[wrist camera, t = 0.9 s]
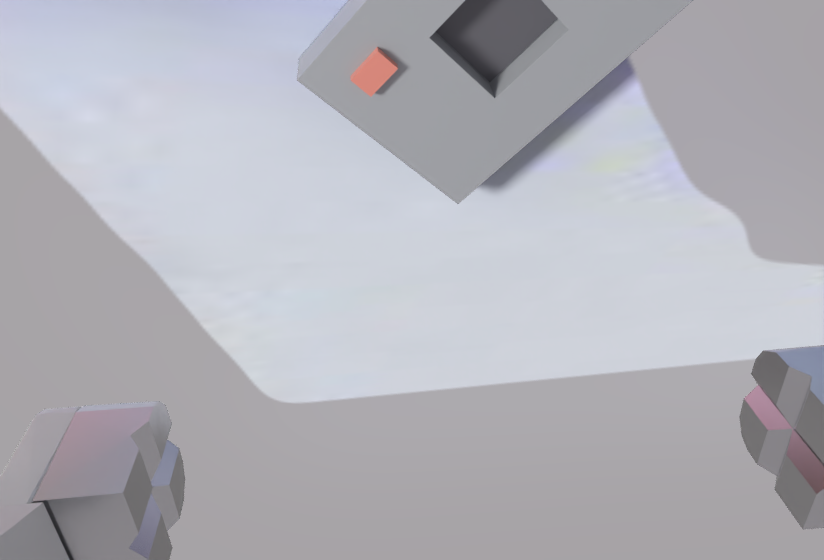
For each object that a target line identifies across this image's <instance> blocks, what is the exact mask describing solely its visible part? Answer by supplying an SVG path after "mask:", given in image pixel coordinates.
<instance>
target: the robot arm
mask: <svg viewBox="0 0 824 560" xmlns="http://www.w3.org/2000/svg"><path fill="white" fill-rule="evenodd" d="M751 374H752V376H753V377H754V379H755V381H756V382H757V384H758V386H757V387H756V388H755V389H753V390H752V392H750V393H749V394H748V395H747V396H746V397H745V398H744V401H743V405H742V409H741V414H740V424H741V433H742V437H743V440H744V442H745V445H746V447H747V450H748V451H749V453H750V454H751V456H752V457H753V459H754V460H755V462H756V463H757V464H758V465H759V466H761V467H763V468H765V469H766V470H768V471H770V472H771V473H773V474H775V475H776V476H777V478H776V484H775V491H776V492H777V493H778V495H779V496H780V498H781V499H782V500H783V502H784V503H785V505H786V506H787V508H788V509H789V510H790V512H791V513H792V515H793V516H794V517H795V519H796V520H797V522H798V523H799V525H800V526H801V527H802V529H814V528H824V345H820V346H809V347H798V348H787V349H776V350H765V351H762V353H761V354H760V355H759V356H758V357H757V358H756V360H755V363H754V366H753V369H752V373H751ZM171 425H172V422H171V419H170V416H169V413H168V410H167V407H166V405H165V404H163V403H162V402H160V401H154V402H137V403H122V404H121V403H120V404H104V405H88V406H83V407H67V408H51V409H44V410H42V411H41V412H39V413H38V414H36V415H35V416H34V418H33V419H32V421H31V423H30V425H29V427H28V428H27V430H26V432H25V434H24V435H23V437H22V439H21V440H20V442H19V444H18V446H17V448H16V449H15V451H14V453H13V455H12V457H11V458H10V460H9V462H8V463H7V465H6V467H5V469H4V471H3V472H2V474H1V476H0V560H169V559H170V555H171V551H172V545H171V542H170V539H169V536H168V532H167V531H168V530H169V528H170V527H172V526H173V524H175V523H176V522H177V521H178V520H179V519H180V515H181V510H182V506H183V501H184V486H185V475H184V466H183V460H182V457H181V453H180V450H179V448H178V447H176V446H175V445H174V444H173V443H171V442H170V441H169V440H167V439H168V435H169V432H170V429H171Z"/></svg>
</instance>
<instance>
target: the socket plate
mask: <svg viewBox="0 0 824 560" xmlns="http://www.w3.org/2000/svg"><path fill="white" fill-rule="evenodd" d="M692 1H693V0H349V1H348V2H347V3H346V4H345V5H344V6H343V8H342V9H341V10H340V11H339V12H338V13H337V15H336V16H335V17H334V18H333V19H332V20H331V22H330V23H329V24H328V25H327V26H326V27H325V29H324V30H323V31H322V32H321V33H320V34H319V36H318V37H317V38H316V39H315V40H314V41H313V43H312V44H311V45H310V46H309V47H308V48H307V50H306V51H305V52H304V53H303V54H302V55H301V57H300V58H299V62H298V74H297V81H299V82H300V83H301V84H302V85H304V86H305V87H306V88H308V89H309V90H310V91H312V92H313V93H314V94H315V95H317V96H318V97H319V98H321V99H322V100H323V101H325V102H326V103H327V104H328V105H330V106H331V107H332V108H334V109H335V110H336V111H338V112H339V113H340V114H341V115H343V116H344V117H345V118H347V119H348V120H349V121H351V122H352V123H353V124H354V125H356V126H357V127H358V128H360V129H361V130H362V131H364V132H365V133H366V134H367V135H369V136H370V137H371V138H373V139H374V140H375V141H377V142H378V143H379V144H380V145H382V146H383V147H384V148H386V149H387V150H388V151H390V152H391V153H392V154H393V155H395V156H396V157H397V158H399V159H400V160H401V161H403V162H404V163H405V164H406V165H408V166H409V167H410V168H412V169H413V170H414V171H416V172H417V173H418V174H419V175H421V176H422V177H423V178H425V179H426V180H427V181H429V182H430V183H431V184H432V185H434V186H435V187H436V188H438V189H439V190H440V191H442V192H443V193H444V194H445V195H447V196H448V197H449V198H451V199H452V200H453V201H455V202H456V203H457V204H459V203H460V202H461V201H462V200H463V199H465V198H466V197H467V196H468V195H469V194H470V193H472V192H473V191H474V190H475V189H476V188H477V187H478V186H480V185H481V184H482V183H483V182H484V181H485V180H487V179H488V178H489V177H490V176H491V175H492V174H493V173H495V172H496V171H497V170H498V169H499V168H500V167H501V166H503V165H504V164H505V163H506V162H507V161H508V160H510V159H511V158H512V157H513V156H514V155H515V154H516V153H518V152H519V151H520V150H521V149H522V148H523V147H525V146H526V145H527V144H528V143H529V142H530V141H531V140H533V139H534V138H535V137H536V136H537V135H538V134H540V133H541V132H542V131H543V130H544V129H545V128H546V127H548V126H549V125H550V124H551V123H552V122H553V121H555V120H556V119H557V118H558V117H559V116H560V115H561V114H563V113H564V112H565V111H566V110H567V109H568V108H570V107H571V106H572V105H573V104H574V103H575V102H576V101H578V100H579V99H580V98H581V97H582V96H583V95H584V94H586V93H587V92H588V91H589V90H590V89H591V88H593V87H594V86H595V85H596V84H597V83H598V82H599V81H601V80H602V79H603V78H604V77H605V76H606V75H608V74H609V73H610V72H611V71H612V70H613V69H614V68H616V67H617V66H618V65H619V64H620V63H621V62H623V61H624V60H625V59H626V58H627V57H628V56H629V55H631V54H632V53H633V52H634V51H635V50H636V49H638V48H639V47H640V46H641V45H642V44H643V43H644V42H646V41H647V40H648V39H649V38H650V37H651V36H652V35H654V34H655V33H656V32H657V31H658V30H659V29H661V28H662V27H663V26H664V25H665V24H666V23H667V22H669V21H670V20H671V19H672V18H673V17H674V16H675V15H677V14H678V13H679V12H680V11H681V10H682V9H684V7H686V6H687V5H688V4H689V3H691V2H692Z"/></svg>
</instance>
